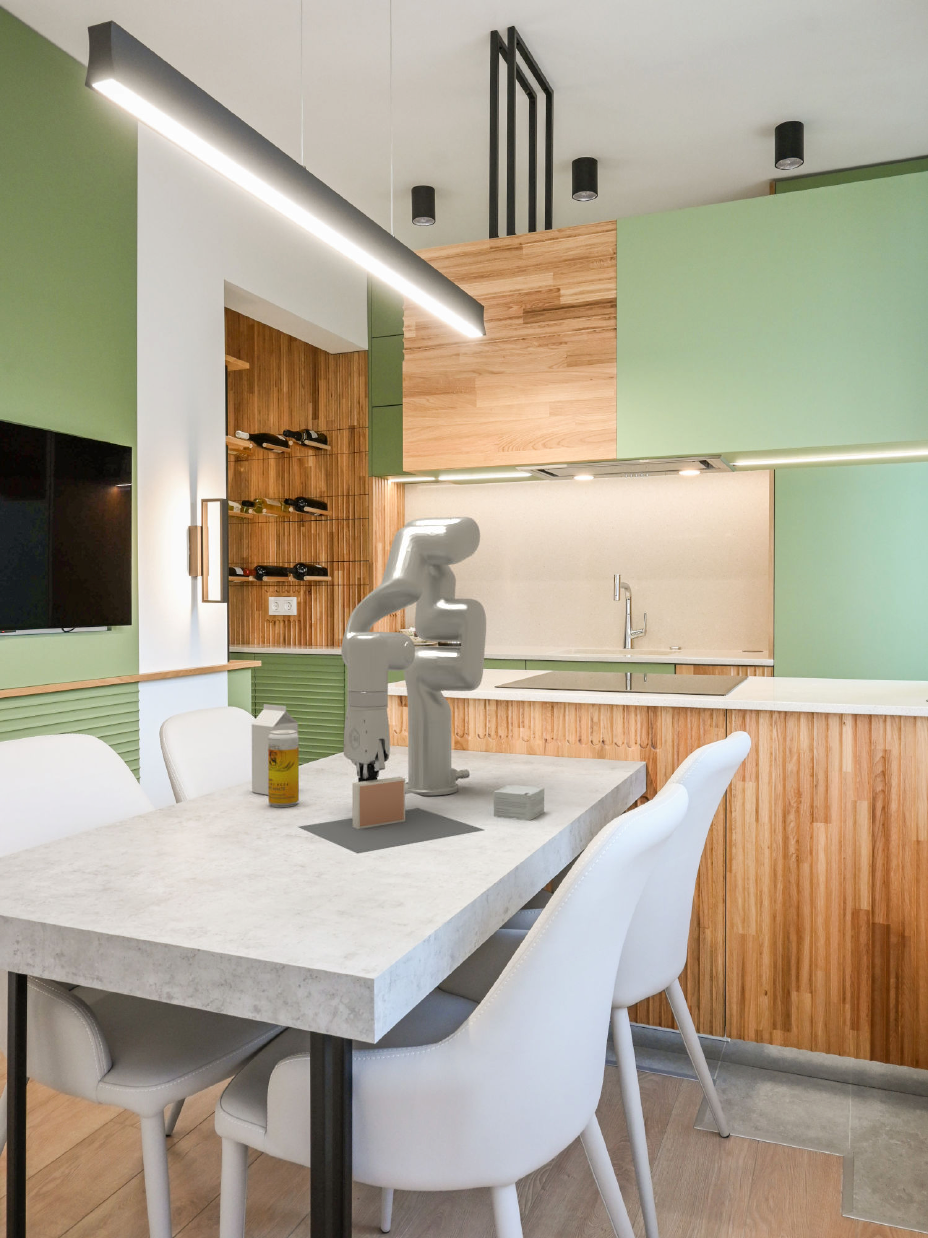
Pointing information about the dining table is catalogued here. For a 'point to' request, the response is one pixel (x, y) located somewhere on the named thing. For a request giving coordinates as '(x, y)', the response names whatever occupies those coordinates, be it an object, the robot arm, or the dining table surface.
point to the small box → (519, 802)
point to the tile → (378, 802)
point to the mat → (390, 831)
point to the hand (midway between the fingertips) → (367, 798)
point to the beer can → (283, 768)
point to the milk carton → (266, 742)
